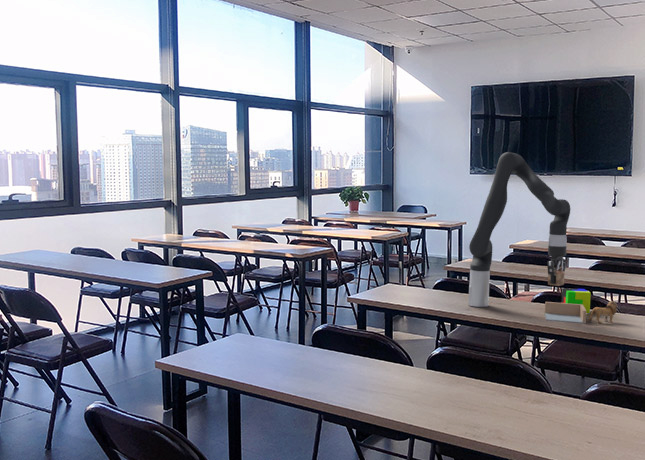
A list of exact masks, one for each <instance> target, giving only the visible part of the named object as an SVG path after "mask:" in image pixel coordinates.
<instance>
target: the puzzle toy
mask: <svg viewBox="0 0 645 460" xmlns="http://www.w3.org/2000/svg"><path fill="white" fill-rule="evenodd" d="M591 295H592V294H591V291H588V290H587V289H585V288H567V287H566V288H565V287H562V288H561V301H560V303H568V304H582V305H583V306H584V308H585V309H586V313H590V314H591V297H592V296H591Z"/></svg>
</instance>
